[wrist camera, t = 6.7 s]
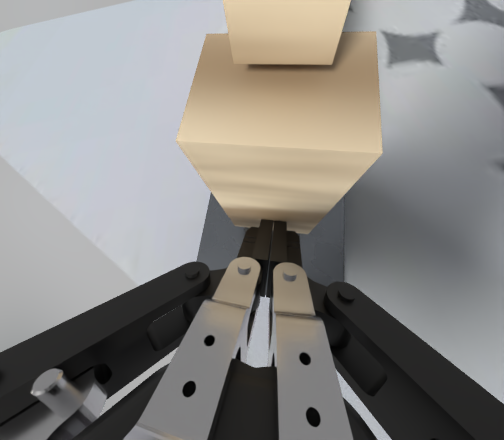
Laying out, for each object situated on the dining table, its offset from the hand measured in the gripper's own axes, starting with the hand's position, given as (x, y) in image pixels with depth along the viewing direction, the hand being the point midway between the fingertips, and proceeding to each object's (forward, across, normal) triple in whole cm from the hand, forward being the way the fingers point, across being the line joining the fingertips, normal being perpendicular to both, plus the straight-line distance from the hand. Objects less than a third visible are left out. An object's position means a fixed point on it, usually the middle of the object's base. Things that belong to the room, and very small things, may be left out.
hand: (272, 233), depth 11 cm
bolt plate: (+10, 0, -4) cm, 11 cm away
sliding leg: (+10, 0, -5) cm, 11 cm away
